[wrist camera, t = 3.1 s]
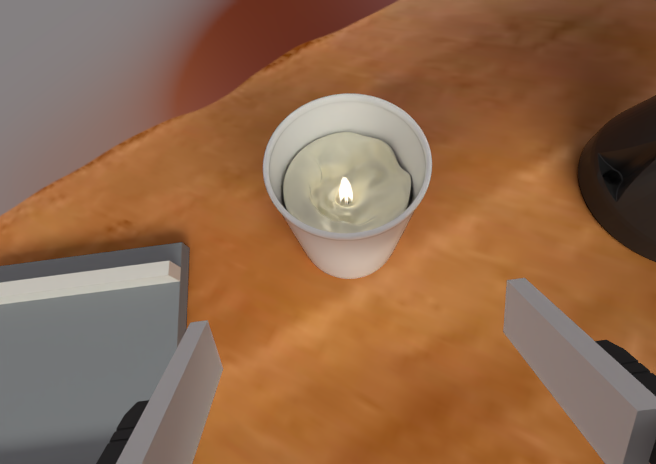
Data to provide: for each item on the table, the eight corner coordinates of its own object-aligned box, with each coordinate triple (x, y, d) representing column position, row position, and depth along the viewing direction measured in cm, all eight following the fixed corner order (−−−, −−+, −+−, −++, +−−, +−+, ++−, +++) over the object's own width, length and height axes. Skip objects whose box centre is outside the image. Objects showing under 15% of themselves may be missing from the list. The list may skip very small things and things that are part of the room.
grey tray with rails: (-3, 273, 32) (-43, 262, 29) (189, 248, 32) (170, 233, 29) (-72, 545, 25) (-136, 571, 22) (178, 517, 24) (151, 539, 21)
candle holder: (369, 169, 34) (377, 70, 23) (426, 255, 30) (468, 186, 19) (277, 215, 33) (237, 133, 22) (324, 309, 29) (306, 269, 18)
